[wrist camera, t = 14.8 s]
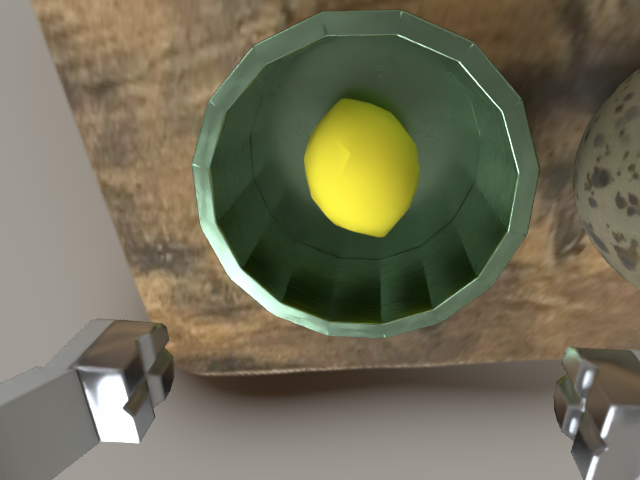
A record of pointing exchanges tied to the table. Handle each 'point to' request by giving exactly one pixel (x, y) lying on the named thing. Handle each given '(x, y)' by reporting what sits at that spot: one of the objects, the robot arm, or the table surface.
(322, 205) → the lemon
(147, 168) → the table surface
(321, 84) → the pot
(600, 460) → the robot arm
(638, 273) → the decorative egg
